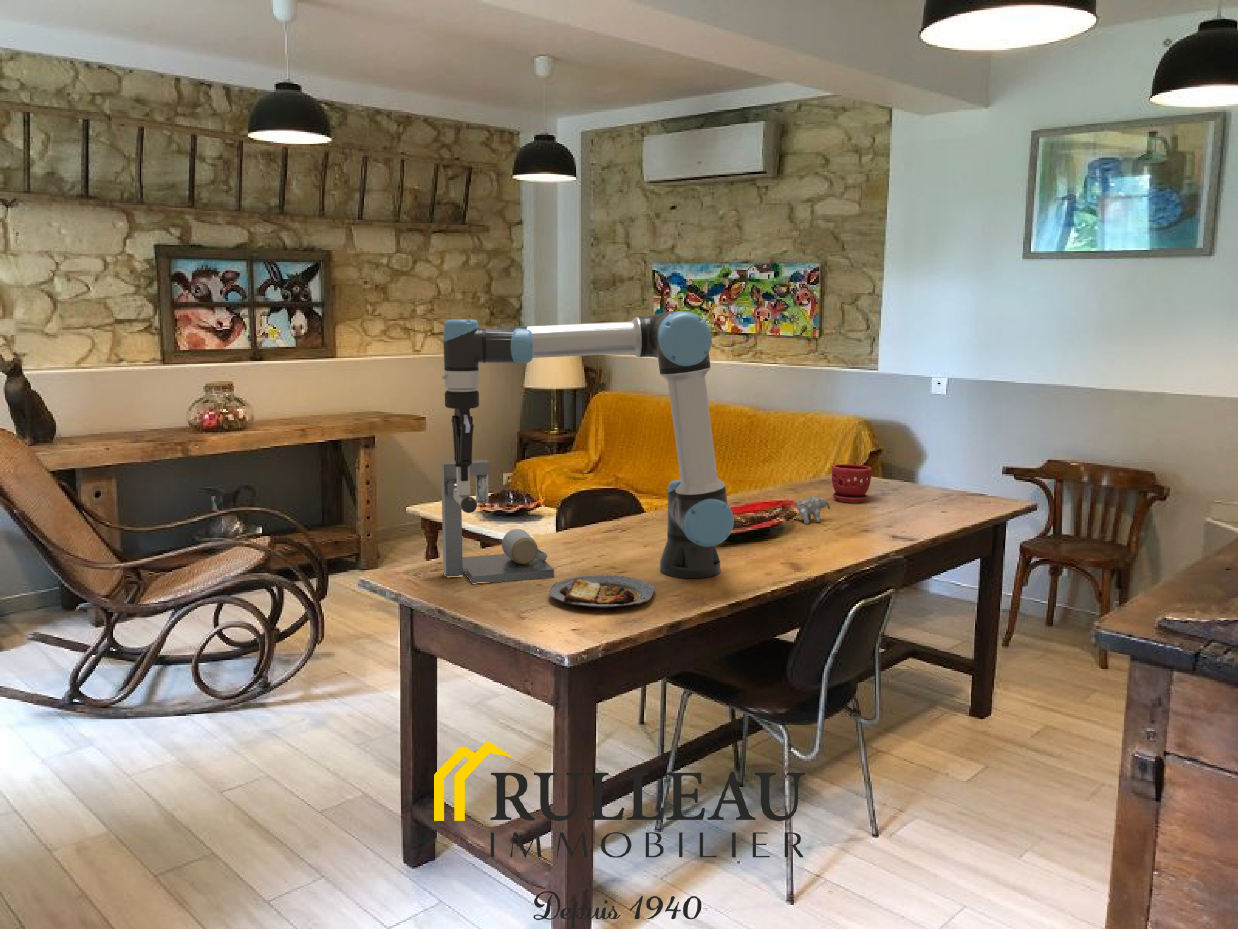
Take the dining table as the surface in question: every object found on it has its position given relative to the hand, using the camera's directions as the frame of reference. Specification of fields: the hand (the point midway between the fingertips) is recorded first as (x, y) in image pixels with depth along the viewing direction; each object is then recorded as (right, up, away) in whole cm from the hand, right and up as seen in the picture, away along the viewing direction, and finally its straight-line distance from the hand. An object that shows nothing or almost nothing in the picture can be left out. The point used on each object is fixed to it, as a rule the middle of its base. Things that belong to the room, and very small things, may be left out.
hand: (463, 494), depth 218 cm
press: (+4, -20, +22) cm, 30 cm away
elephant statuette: (+95, -11, +82) cm, 126 cm away
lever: (-1, -3, +3) cm, 5 cm away
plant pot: (+114, -6, +113) cm, 161 cm away
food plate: (+31, -24, +3) cm, 39 cm away
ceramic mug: (+12, -18, +25) cm, 33 cm away
